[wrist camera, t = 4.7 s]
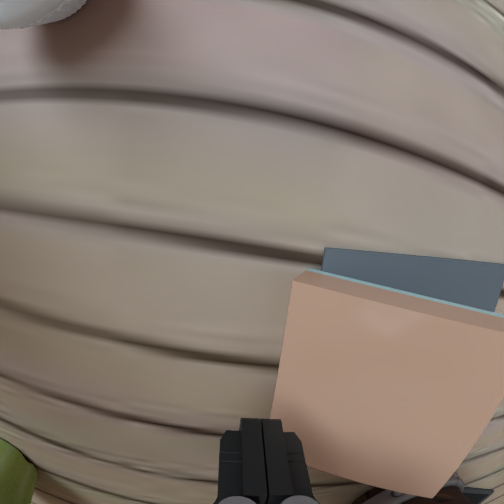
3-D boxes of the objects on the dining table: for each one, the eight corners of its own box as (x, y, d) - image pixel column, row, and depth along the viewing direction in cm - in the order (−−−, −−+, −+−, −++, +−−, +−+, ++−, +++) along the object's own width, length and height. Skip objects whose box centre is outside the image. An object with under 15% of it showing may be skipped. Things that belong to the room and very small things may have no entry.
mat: (324, 247, 14) (326, 248, 14) (505, 264, 15) (507, 265, 14) (285, 438, 17) (286, 440, 17) (443, 419, 18) (445, 421, 18)
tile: (292, 280, 12) (531, 338, 8) (309, 268, 14) (519, 318, 10) (263, 448, 15) (432, 498, 11) (279, 427, 17) (436, 473, 12)
